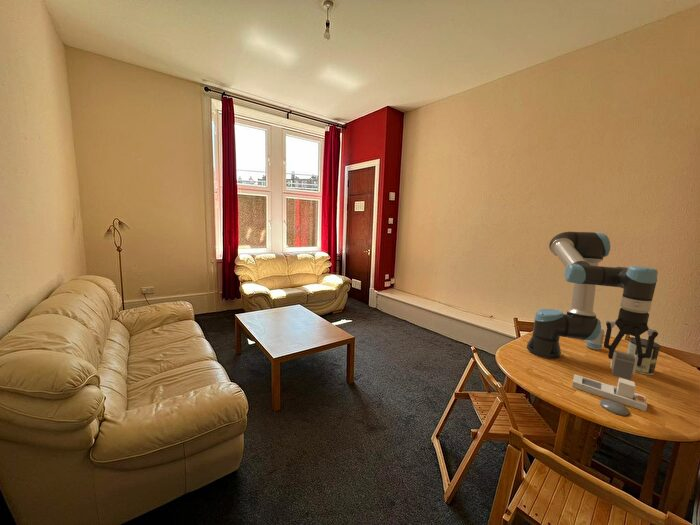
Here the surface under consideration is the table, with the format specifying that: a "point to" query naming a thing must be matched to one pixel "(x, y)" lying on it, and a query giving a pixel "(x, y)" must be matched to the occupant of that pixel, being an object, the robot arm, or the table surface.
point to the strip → (608, 392)
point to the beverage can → (596, 341)
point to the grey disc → (614, 407)
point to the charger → (623, 365)
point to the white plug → (625, 388)
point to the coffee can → (647, 363)
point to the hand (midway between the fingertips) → (622, 369)
